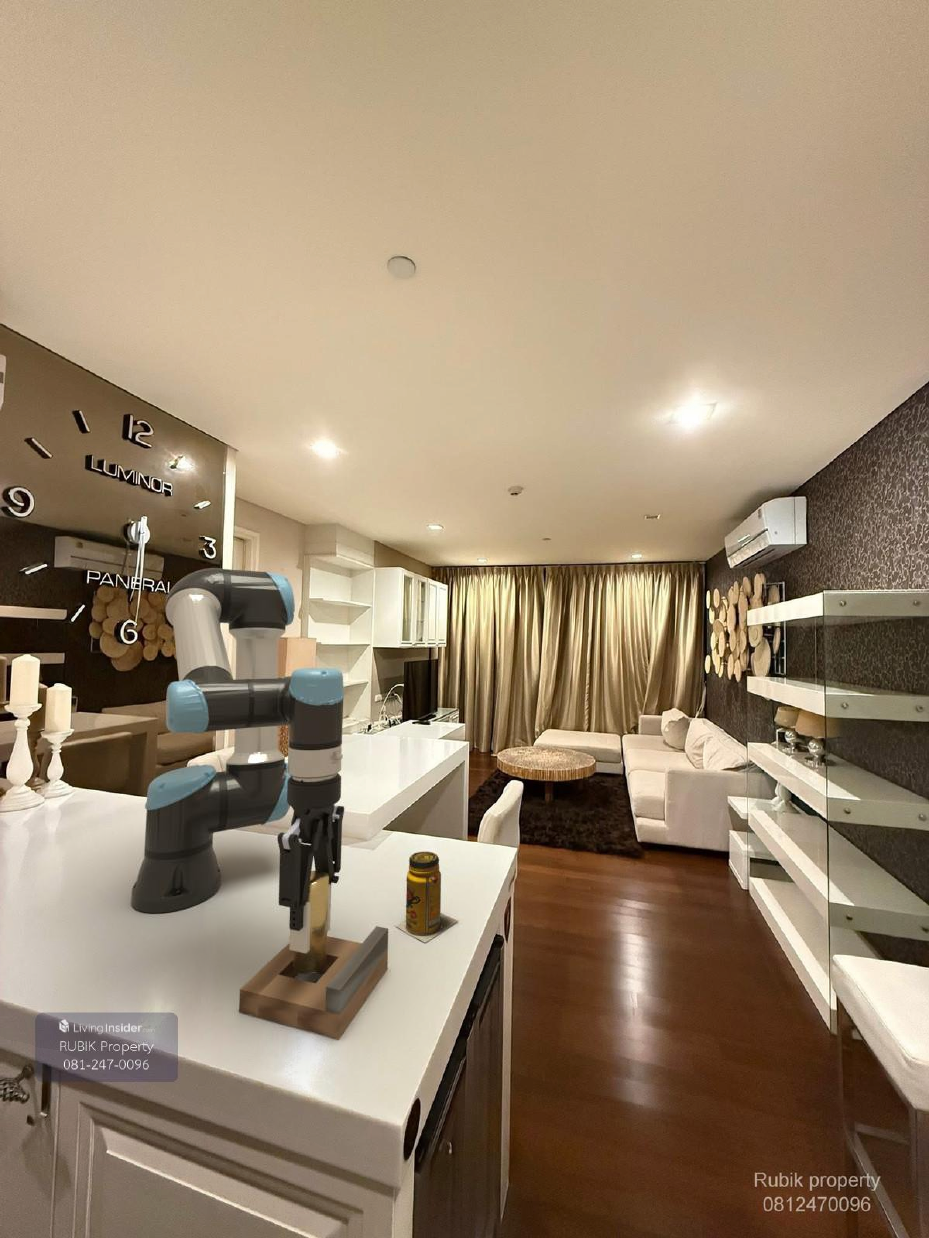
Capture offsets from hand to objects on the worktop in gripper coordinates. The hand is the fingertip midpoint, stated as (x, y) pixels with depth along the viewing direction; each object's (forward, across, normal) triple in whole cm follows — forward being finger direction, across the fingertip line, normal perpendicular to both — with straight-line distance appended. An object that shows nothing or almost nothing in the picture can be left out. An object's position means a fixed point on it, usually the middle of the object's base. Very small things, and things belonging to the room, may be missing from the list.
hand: (310, 938), depth 71 cm
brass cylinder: (+3, 0, 0) cm, 3 cm away
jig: (+7, 0, -1) cm, 7 cm away
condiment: (+7, +20, -10) cm, 24 cm away
